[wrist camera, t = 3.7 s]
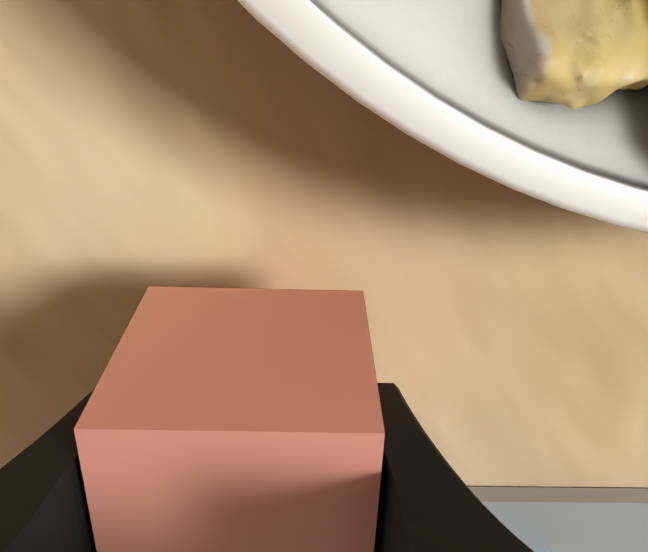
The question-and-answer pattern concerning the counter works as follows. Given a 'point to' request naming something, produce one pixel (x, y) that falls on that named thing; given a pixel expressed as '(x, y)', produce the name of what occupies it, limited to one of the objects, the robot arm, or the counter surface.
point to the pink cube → (236, 425)
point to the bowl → (497, 86)
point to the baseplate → (572, 517)
